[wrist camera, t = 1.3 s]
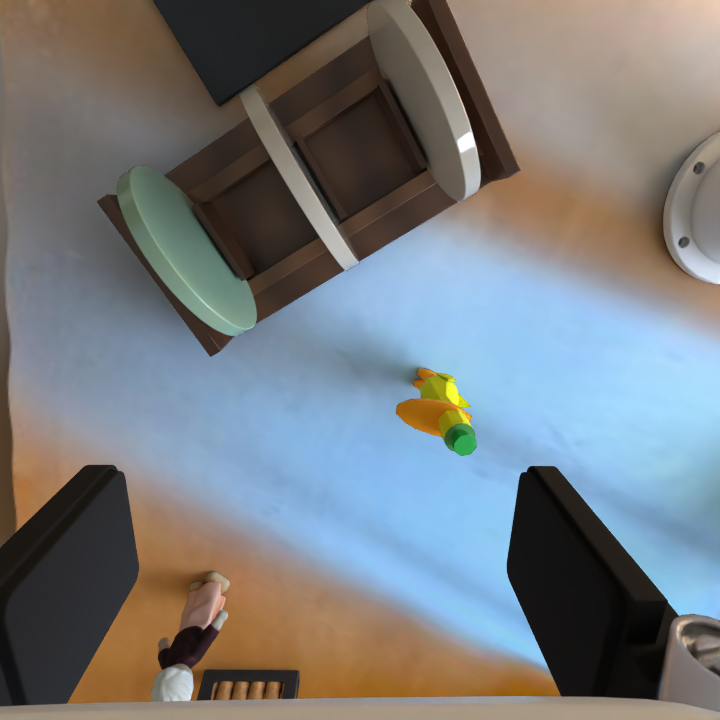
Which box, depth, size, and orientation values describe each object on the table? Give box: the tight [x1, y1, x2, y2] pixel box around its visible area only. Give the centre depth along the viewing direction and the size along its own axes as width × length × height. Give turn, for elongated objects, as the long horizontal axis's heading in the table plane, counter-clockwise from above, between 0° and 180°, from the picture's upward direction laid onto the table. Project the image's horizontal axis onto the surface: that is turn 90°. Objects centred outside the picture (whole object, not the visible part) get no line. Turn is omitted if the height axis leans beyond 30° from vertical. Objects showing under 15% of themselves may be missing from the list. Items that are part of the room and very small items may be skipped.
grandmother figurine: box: [151, 572, 230, 702], centre depth 42 cm, size 8×4×13 cm, turn 133°
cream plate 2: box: [367, 0, 481, 202], centre depth 27 cm, size 1×12×12 cm, turn 31°
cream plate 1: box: [240, 83, 360, 271], centre depth 29 cm, size 1×12×12 cm, turn 31°
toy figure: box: [396, 369, 476, 456], centre depth 35 cm, size 7×4×12 cm, turn 75°
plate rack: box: [97, 0, 521, 357], centre depth 33 cm, size 26×13×5 cm, turn 121°
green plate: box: [117, 165, 257, 336], centre depth 30 cm, size 1×12×12 cm, turn 31°
